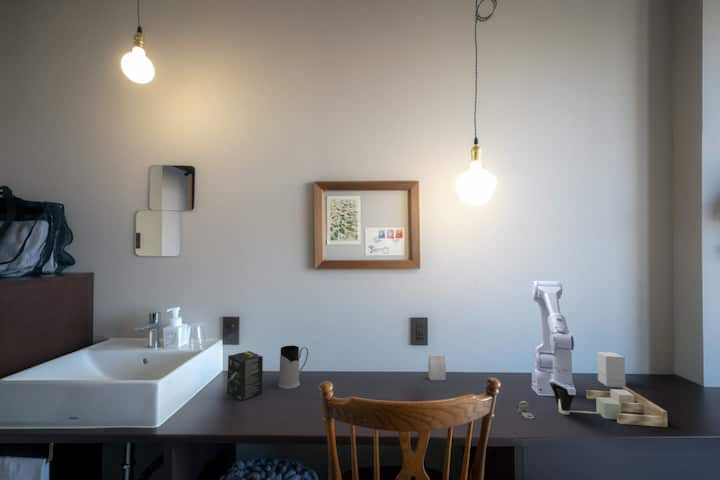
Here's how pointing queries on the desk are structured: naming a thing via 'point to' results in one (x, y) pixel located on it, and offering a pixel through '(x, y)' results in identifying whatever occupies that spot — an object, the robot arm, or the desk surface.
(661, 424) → the lane rack
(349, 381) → the desk surface
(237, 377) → the tampon box
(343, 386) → the desk surface
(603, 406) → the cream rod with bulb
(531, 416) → the strap clip
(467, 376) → the desk surface
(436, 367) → the beige box
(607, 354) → the supplement box
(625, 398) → the grey block
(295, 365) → the grey mug
